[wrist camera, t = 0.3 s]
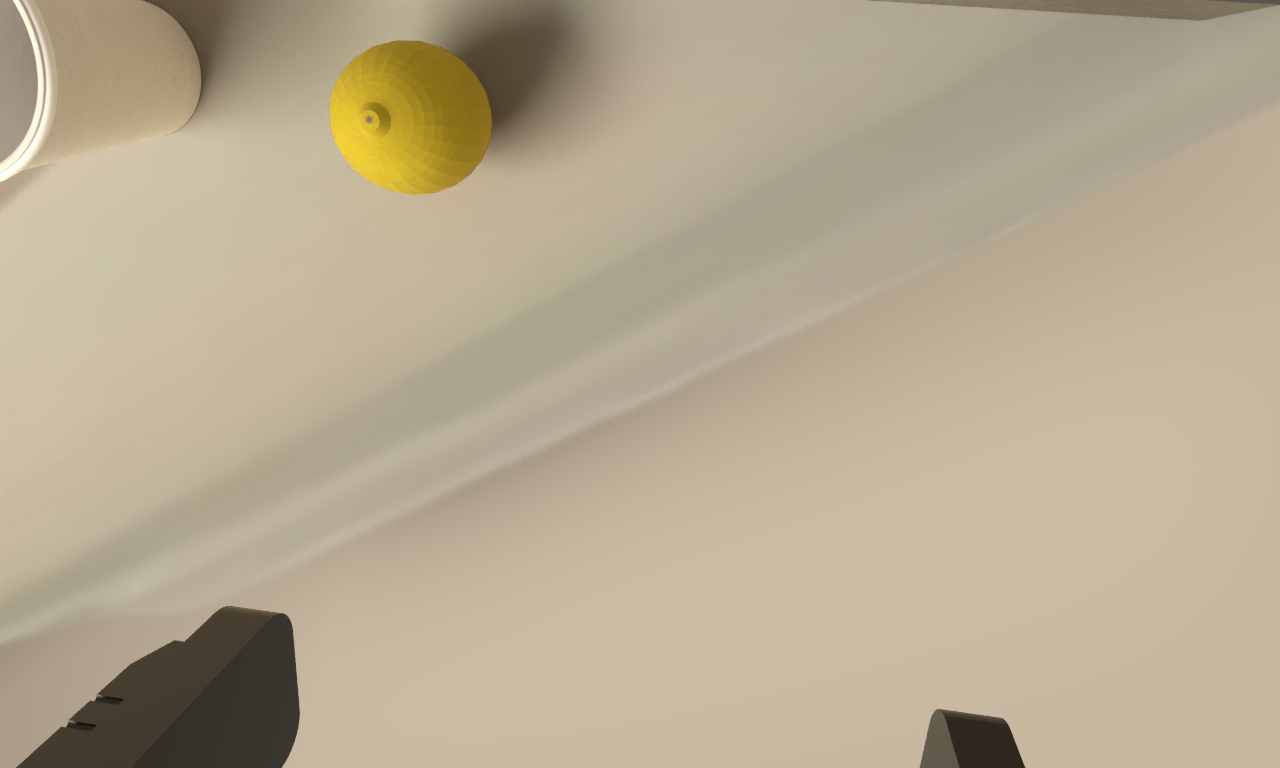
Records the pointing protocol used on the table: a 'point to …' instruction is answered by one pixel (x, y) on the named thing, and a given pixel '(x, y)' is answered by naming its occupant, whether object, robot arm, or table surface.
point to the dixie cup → (89, 78)
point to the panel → (1121, 6)
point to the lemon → (410, 117)
